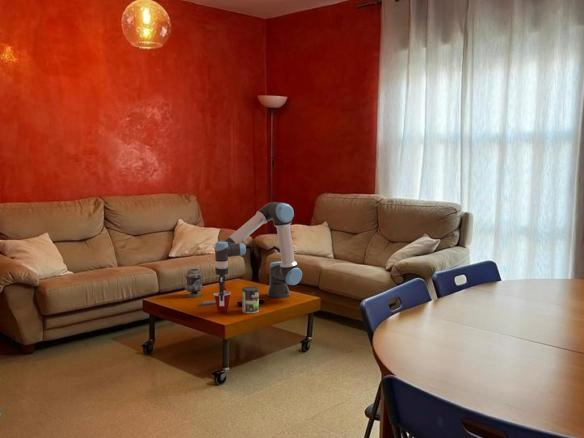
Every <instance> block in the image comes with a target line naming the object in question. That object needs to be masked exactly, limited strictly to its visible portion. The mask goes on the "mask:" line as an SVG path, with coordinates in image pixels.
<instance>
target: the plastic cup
mask: <svg viewBox="0 0 584 438" xmlns="http://www.w3.org/2000/svg"><path fill="white" fill-rule="evenodd" d="M218 294H219V292H214V293H213V297H214V301H216V304H215V305H216V310H217V313H218V314H226V313H228V311H229V306H230V298H231V295H232V292H231V291H225V292H224V306H220V302H219V296H218Z"/></svg>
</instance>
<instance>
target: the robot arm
mask: <svg viewBox="0 0 584 438" xmlns="http://www.w3.org/2000/svg"><path fill="white" fill-rule="evenodd" d="M294 217H295V213H294V208H293V207H292V206H291V205H290V204H288V203H285V202H277V201H272V202H269V203H266V204H265V205H264V206H262V207H261V208H260V209H258V210H257V211H256V213H255V215H253V216H252V217H251V218H250V219H249V220H247V222H245V223H244V224H243V225H241V227H239V228H238V229H237V230H235V232H233V233H232V234H231V235H230V236H229V237H227V238H226V239H223V240H220V241H216V242H215V245H214V259H215V261H214V263H213V264H215V268H214V269H215V275H218V285H219V287H218V288H219V289H218V290H219V294H218V296H219V302H220V306H224V292H226V290H227V288H226V285H225V283H226V275H228V273H229V258H231V257H233V258H234V257H242V256H245V255H246V253H247V247H246V244H245V243H242V242H244V240H246V238H248V237H249V236H250V235H252V234H253V233H254V232H255V231H256V230H257V229H259V228H260V227H261V226H262V225H264V224H267V223H268V222H270V221H273V226H274V227H275V228H276V232H277V239H278V240H277V241H278V247H279V253H280V254H279V255H280V260H281V261H280V260H279V261H273V262H272V261H271V262H270V264H269V268H268V269H269V286H268V289H267V292H266V294H267V297H269V298H272V299H273V298H275V299H282V298H284V299H285V298H288V297H289V296H290V295H291V292H290V289H289V287H288V285H290V286H292V285H293V286H295V285H297V284H299V283H300V281H301V280H302V277H303V272H302V270H301V268H299V265H298V262H297V261H296V260H295V254H294V247H293V239H292V233H291V224H292V223H293V222H292V220H293V219H294Z"/></svg>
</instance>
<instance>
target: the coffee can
mask: <svg viewBox="0 0 584 438" xmlns="http://www.w3.org/2000/svg"><path fill="white" fill-rule="evenodd" d="M259 290H260V288H259V287H257V286H244V287H242V288H241V303H242V304H241V305H242V306H241V308H242V309H241V312H242V313H244V314H255V313H256V314H257V313H259V311H260V309H259V307H260V303H259V302H260V301H259V300H260V298H259V297H260V296H259V295H260V294H259V293H260V291H259Z"/></svg>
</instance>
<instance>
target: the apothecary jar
mask: <svg viewBox="0 0 584 438" xmlns="http://www.w3.org/2000/svg"><path fill="white" fill-rule="evenodd" d="M203 276H204V275H203V272H201V269H200V268H188V269H187V272H185V274H184V277H185V278H186V285H185V287H184V289H185V291H186V292H189V293H188V294H187V295H186V297H187V298H199V297H201V296H202V293H200V291H203V288H204V286H203V284H202V277H203Z"/></svg>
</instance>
